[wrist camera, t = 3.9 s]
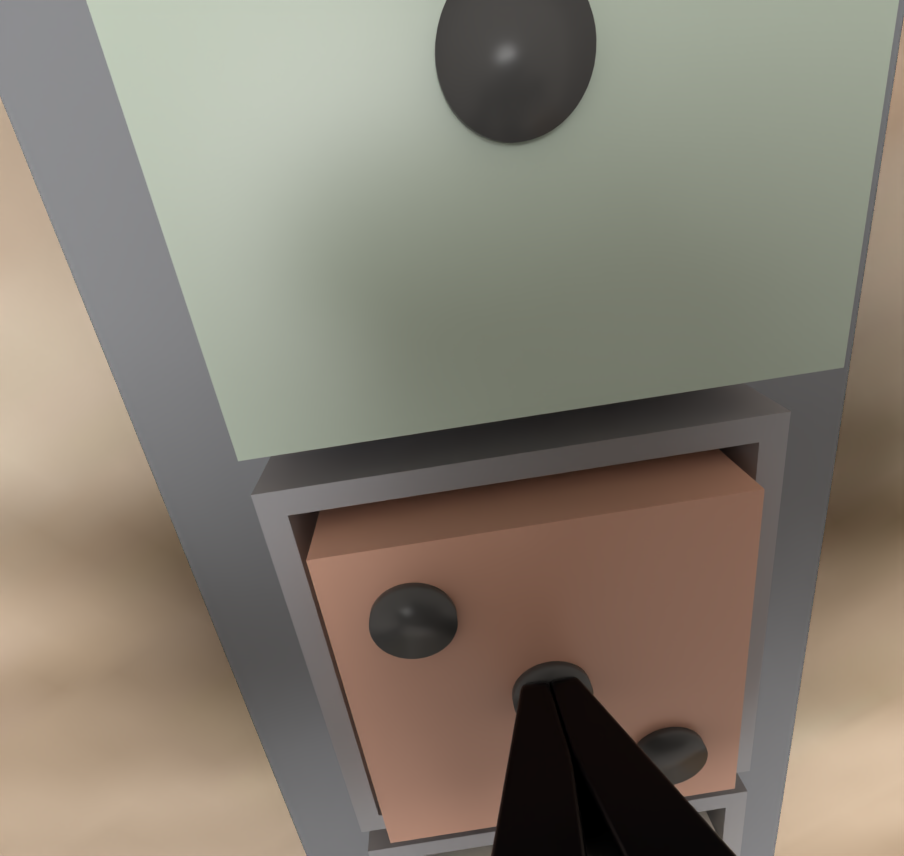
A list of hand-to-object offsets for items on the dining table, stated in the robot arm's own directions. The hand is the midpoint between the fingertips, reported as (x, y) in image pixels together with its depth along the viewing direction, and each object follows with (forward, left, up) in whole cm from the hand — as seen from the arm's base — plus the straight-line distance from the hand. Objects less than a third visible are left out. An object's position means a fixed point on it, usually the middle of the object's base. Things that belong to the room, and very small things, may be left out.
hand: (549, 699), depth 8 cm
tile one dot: (+8, 0, -2) cm, 8 cm away
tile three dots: (0, 0, -3) cm, 3 cm away
